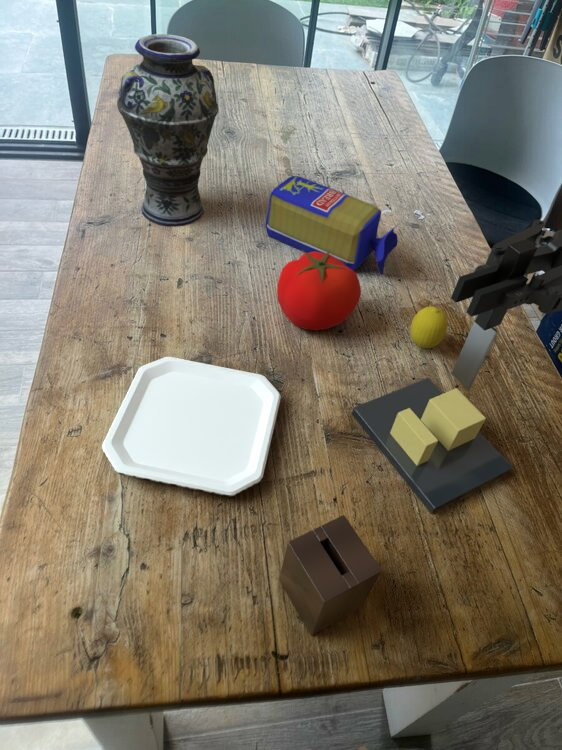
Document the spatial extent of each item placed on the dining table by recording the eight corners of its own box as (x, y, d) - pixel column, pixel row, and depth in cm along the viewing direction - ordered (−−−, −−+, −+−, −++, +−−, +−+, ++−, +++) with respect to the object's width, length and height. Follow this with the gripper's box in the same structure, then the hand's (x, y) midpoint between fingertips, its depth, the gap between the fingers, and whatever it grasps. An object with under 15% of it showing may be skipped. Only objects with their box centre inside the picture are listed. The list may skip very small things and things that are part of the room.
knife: (476, 386, 70) (543, 251, 55) (461, 393, 69) (525, 257, 54) (459, 370, 71) (520, 234, 57) (444, 376, 70) (503, 240, 56)
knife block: (364, 605, 65) (382, 570, 58) (311, 636, 62) (324, 602, 55) (329, 553, 68) (343, 514, 62) (278, 579, 66) (287, 541, 59)
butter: (474, 438, 81) (486, 418, 78) (448, 451, 79) (458, 431, 76) (446, 408, 84) (456, 387, 81) (420, 419, 82) (429, 399, 79)
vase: (113, 197, 116) (94, 30, 94) (191, 181, 123) (190, 22, 102) (148, 241, 107) (136, 68, 85) (230, 220, 114) (238, 56, 93)
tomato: (280, 288, 102) (288, 231, 93) (356, 303, 101) (370, 247, 93) (266, 333, 93) (273, 276, 85) (348, 350, 93) (363, 294, 84)
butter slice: (428, 460, 77) (438, 440, 74) (416, 466, 77) (426, 445, 73) (401, 428, 81) (409, 407, 77) (389, 433, 80) (397, 412, 77)
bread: (285, 215, 118) (291, 167, 110) (396, 261, 111) (411, 213, 103) (258, 236, 112) (263, 187, 104) (374, 287, 105) (388, 238, 97)
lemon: (416, 361, 93) (431, 323, 87) (398, 338, 96) (411, 300, 90) (444, 353, 94) (461, 316, 89) (425, 331, 98) (440, 294, 92)
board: (509, 473, 79) (513, 467, 78) (431, 514, 73) (434, 508, 72) (425, 384, 89) (428, 377, 88) (351, 414, 84) (353, 407, 82)
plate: (283, 388, 86) (285, 378, 84) (256, 509, 71) (257, 499, 70) (147, 361, 86) (146, 350, 85) (93, 475, 72) (91, 465, 71)
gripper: (652, 309, 65) (504, 373, 55) (552, 239, 73) (408, 283, 63) (694, 253, 59) (537, 313, 50) (581, 184, 68) (428, 224, 58)
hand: (465, 296), depth 57 cm, fingers closed on knife, 2 cm apart
